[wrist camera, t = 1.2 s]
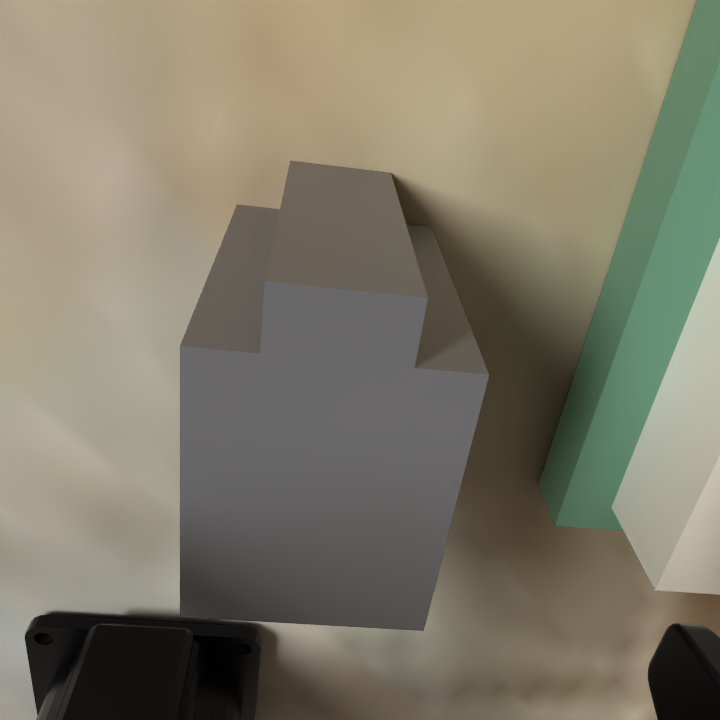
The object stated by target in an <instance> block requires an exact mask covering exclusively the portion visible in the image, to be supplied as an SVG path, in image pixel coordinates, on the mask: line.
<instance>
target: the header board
mask: <svg viewBox="0 0 720 720" xmlns="http://www.w3.org/2000/svg"><path fill="white" fill-rule="evenodd" d="M538 486H539V489H540V491H541V493H542V496H543V498H544V501H545V503H546V506H547V508H548V511H549V513H550V516H551V518H552V521H553V523H554V526H562V527H576V528H589V529H603V530H617V531H624V532H625V534H626V536H627V538H628V540H629V542H630V544H631V546H632V548H633V550H634V551H635V553H636V555H637V557H638V559H639V561H640V563H641V565H642V567H643V569H644V571H645V572H646V574H647V576H648V578H649V580H650V582H651V584H652V586H653V588H654V590H657V591H672V592H688V593H703V594H719V595H720V0H697V1H696V4H695V7H694V10H693V13H692V16H691V19H690V22H689V25H688V29H687V32H686V35H685V38H684V41H683V44H682V47H681V50H680V53H679V56H678V59H677V62H676V65H675V68H674V71H673V74H672V77H671V81H670V84H669V87H668V90H667V93H666V96H665V99H664V102H663V105H662V108H661V111H660V114H659V117H658V120H657V123H656V126H655V129H654V133H653V136H652V139H651V142H650V145H649V148H648V151H647V154H646V157H645V160H644V163H643V166H642V169H641V172H640V175H639V178H638V181H637V185H636V188H635V191H634V194H633V197H632V200H631V203H630V206H629V209H628V212H627V215H626V218H625V221H624V224H623V227H622V230H621V233H620V237H619V240H618V243H617V246H616V249H615V252H614V255H613V258H612V261H611V264H610V267H609V270H608V273H607V276H606V279H605V282H604V285H603V289H602V292H601V295H600V298H599V301H598V304H597V307H596V310H595V313H594V316H593V319H592V322H591V325H590V328H589V331H588V334H587V337H586V341H585V344H584V347H583V350H582V353H581V356H580V359H579V362H578V365H577V368H576V371H575V374H574V377H573V380H572V383H571V386H570V389H569V393H568V396H567V399H566V402H565V405H564V408H563V411H562V414H561V417H560V420H559V423H558V426H557V429H556V432H555V435H554V438H553V441H552V445H551V448H550V451H549V454H548V457H547V460H546V463H545V466H544V469H543V472H542V475H541V478H540V481H539V484H538Z"/></svg>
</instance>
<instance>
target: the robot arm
mask: <svg viewBox="0 0 720 720" xmlns="http://www.w3.org/2000/svg"><path fill="white" fill-rule="evenodd" d="M261 640H262V638H261V634H260V633H259V632H258V631H257V630H256V629H254V628H252V627H247V626H235V625H217V624H199V623H181V622H163V621H146V620H128V619H110V618H92V617H75V616H57V615H40V616H38V617H35V618H34V619H33V620H32V621H31V623H30V625H29V627H28V629H27V631H26V634H25V642H26V648H27V654H28V660H29V666H30V672H31V679H32V685H33V691H34V697H35V703H36V709H37V715H38V717H37V719H36V720H255V709H256V698H257V686H258V675H259V663H260V652H261ZM648 682H649V687H650V691H651V695H652V699H653V703H654V707H655V711H656V715H657V719H658V720H720V638H719V637H718V636H717V635H716V634H715V633H714V632H712V631H711V630H710V629H708V628H707V627H705V626H702V625H697V624H681V623H676V624H672V625H671V626H669V627H668V628H667V630H666V632H665V634H664V636H663V638H662V640H661V641H660V643H659V645H658V647H657V649H656V651H655V653H654V655H653V657H652V659H651V661H650V664H649V668H648Z"/></svg>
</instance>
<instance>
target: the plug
mask: <svg viewBox="0 0 720 720" xmlns="http://www.w3.org/2000/svg"><path fill="white" fill-rule="evenodd" d="M488 378H489V373H488V370H487V368H486V365H485V363H484V360H483V358H482V355H481V352H480V350H479V347H478V345H477V342H476V340H475V337H474V335H473V332H472V329H471V327H470V324H469V322H468V319H467V317H466V314H465V312H464V309H463V306H462V304H461V301H460V299H459V296H458V294H457V291H456V289H455V286H454V284H453V281H452V278H451V276H450V273H449V271H448V268H447V266H446V263H445V261H444V258H443V255H442V253H441V250H440V248H439V245H438V243H437V240H436V238H435V235H434V232H433V230H432V227H428V226H419V225H411V224H406V222H405V219H404V215H403V212H402V209H401V205H400V202H399V198H398V195H397V192H396V188H395V185H394V182H393V178H392V175H391V173H386V172H378V171H370V170H361V169H353V168H345V167H337V166H328V165H320V164H312V163H303V162H295V161H290V166H289V170H288V175H287V180H286V184H285V189H284V194H283V198H282V203H281V207H280V210H279V209H270V208H261V207H253V206H244V205H237V206H236V209H235V211H234V214H233V216H232V219H231V221H230V224H229V226H228V229H227V231H226V234H225V236H224V238H223V241H222V243H221V246H220V248H219V251H218V253H217V256H216V258H215V261H214V263H213V266H212V268H211V271H210V273H209V276H208V278H207V281H206V283H205V286H204V288H203V291H202V293H201V295H200V298H199V300H198V303H197V305H196V308H195V310H194V313H193V315H192V318H191V320H190V323H189V325H188V328H187V330H186V333H185V335H184V338H183V340H182V343H181V345H180V617H191V618H208V619H226V620H243V621H261V622H279V623H296V624H314V625H331V626H349V627H367V628H384V629H402V630H419V631H424V627H425V623H426V619H427V615H428V611H429V608H430V604H431V600H432V596H433V592H434V588H435V584H436V580H437V576H438V573H439V569H440V565H441V561H442V557H443V553H444V549H445V545H446V541H447V538H448V534H449V530H450V526H451V522H452V518H453V514H454V510H455V507H456V503H457V499H458V495H459V491H460V487H461V483H462V479H463V475H464V472H465V468H466V464H467V460H468V456H469V452H470V448H471V444H472V441H473V437H474V433H475V429H476V425H477V421H478V417H479V413H480V409H481V406H482V402H483V398H484V394H485V390H486V386H487V382H488Z"/></svg>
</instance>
